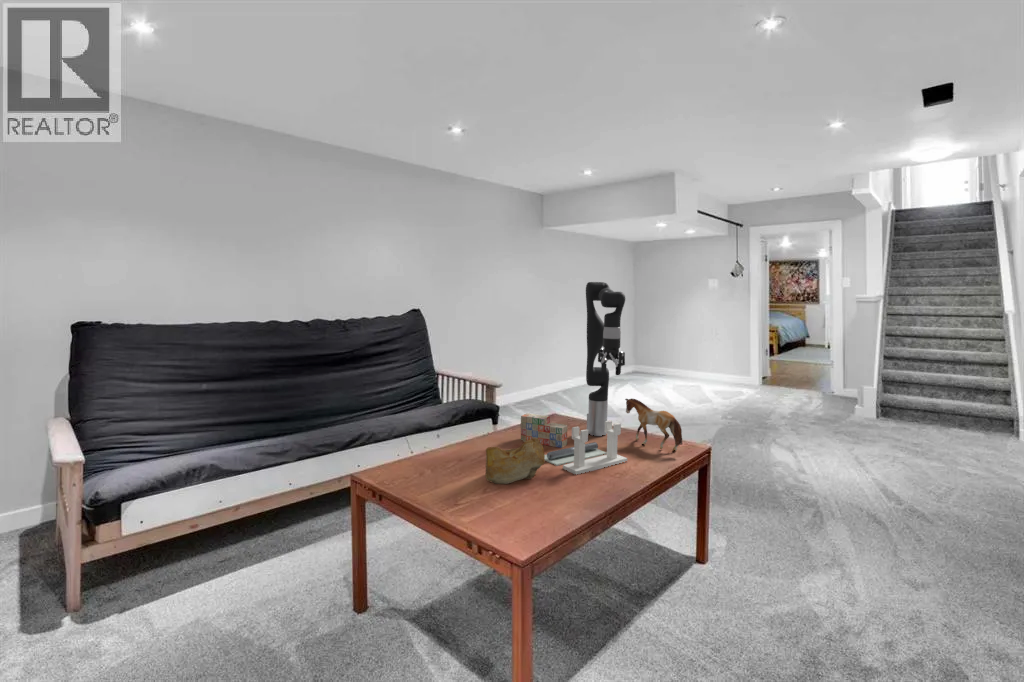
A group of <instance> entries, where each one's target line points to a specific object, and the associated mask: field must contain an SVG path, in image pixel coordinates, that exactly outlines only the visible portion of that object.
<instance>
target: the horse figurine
mask: <svg viewBox="0 0 1024 682" xmlns="http://www.w3.org/2000/svg"><path fill="white" fill-rule="evenodd" d="M624 400H625V401H626V403H625V404H626V407H625V413H626V414H631V411H632V410H633V409H635V411H636V413H637V414H638V417H637V418H638V419H637V420H638V421H639V423H640V425H639V426H638V428H637V431H636V435H635V441H639V440H640V438H639V434H640V431H641V430H643V434H644V441H643V442H642V443H641V445H642V444H645V445H646V444H647V442H648V427H647V425H650V426H657V427H658V429H660V432H661V433H662V434H664V438H663V440H662V441H661V442H660V445H659V450H660V449H661V450H662V449H663V448H664V446H663V445H664V444H665V443H666V441H667V439H669V437H670V433H671V435H672V436H673V438H674V447H673V448H672V449H673V450H672V451H674V450H675V451H677V450H678V446H680V445H681V446H682V445H683V434H682V432H683V431H682V427H681V424H680V422H679V420H678V419H676V417H675V416H674V415H673V414H672V413H670V412H668V411H667V410H653V409H651V408H650V407H649V406H647V404H645V403H644V402H642V401H641V400H638V399H635V398H629V399H628V398H625V399H624ZM667 428H669V431H670V433H668V431H667Z"/></svg>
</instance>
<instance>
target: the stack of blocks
mask: <svg viewBox="0 0 1024 682" xmlns="http://www.w3.org/2000/svg"><path fill="white" fill-rule="evenodd" d="M550 421H551V418H550V415H543V414H537V413H530V412H529V413H528V412H527V413H524V414H522V415H520V441H521V440H523V441H522V442H525V441H527V440H529V439H532V438H536V439H539V441H540V443H541V444H542V446H543V445H544V446H548V447H554V448H555V447H556V448H561V449H563V448H564V447H565V446H567V445H568V426H569V425H567V424H564V423H557V422H550Z"/></svg>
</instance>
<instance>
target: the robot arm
mask: <svg viewBox="0 0 1024 682" xmlns="http://www.w3.org/2000/svg"><path fill="white" fill-rule="evenodd" d="M585 301H586V302H585V303H586V304H585V305H586V352H587V353H586V372H585V374H586V375H585V376H586V377H585V380H586V385H587V386H588V387H599V388H598V389H597V390H594V391H592V392H590V393H589V394H588V410H587V411H588V412H587V414H586V430H588V435H589V434H590V436H593V435H594V436H593V437H603V436H602V435H605V436H607V435H606V434H607V433H606V432H605V421H608V405H609V404H608V401H609V399H608V398H609V385H610V383H609V382H610V371H609V368H608V367H607V363H608V361H612V362H613V363H614V364H615V373H614V374H615V376H621V372H622V367H623V366H625V365H626V353H625V351H620V348H621V333H622V332H621V317H622V313H623V309H624V306H625V303H626V295H625V293H624V292H622V291H614V290H612V289H611V287H610V285H609V284H608V283H607V282H602V281H588V282H587V283H586V285H585ZM594 301H595V302H600V303H601V306H602V307H603V308H607V309H609V308H611V309H613V308H614V311H612V312H608V313H605V314H604V317H603V320H602V317H600V315H599V314H598V312H597V310H596V308H595V303H594ZM603 321H604V322H603ZM596 357H597V362H598V363H600V365H601V366H594V365H595V361H596Z"/></svg>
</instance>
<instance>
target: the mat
mask: <svg viewBox="0 0 1024 682" xmlns="http://www.w3.org/2000/svg"><path fill="white" fill-rule="evenodd" d="M603 454H604V455H607V451H603V450H601V449H599V448H598V449H596V450H592V451H587V452H585V460H587V459H591V458H595V457H599V456H603ZM544 456H545V458H544V459H545V461H546V462H547V463H549V464H552V465H553V464H554V466H555V467H557V466H563V465H566V463H567V464H570V463H574V455H570V456H565V457H561V458H557V459H552V460H549V459H548V458H547V454H544ZM545 461H544V462H545Z"/></svg>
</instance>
